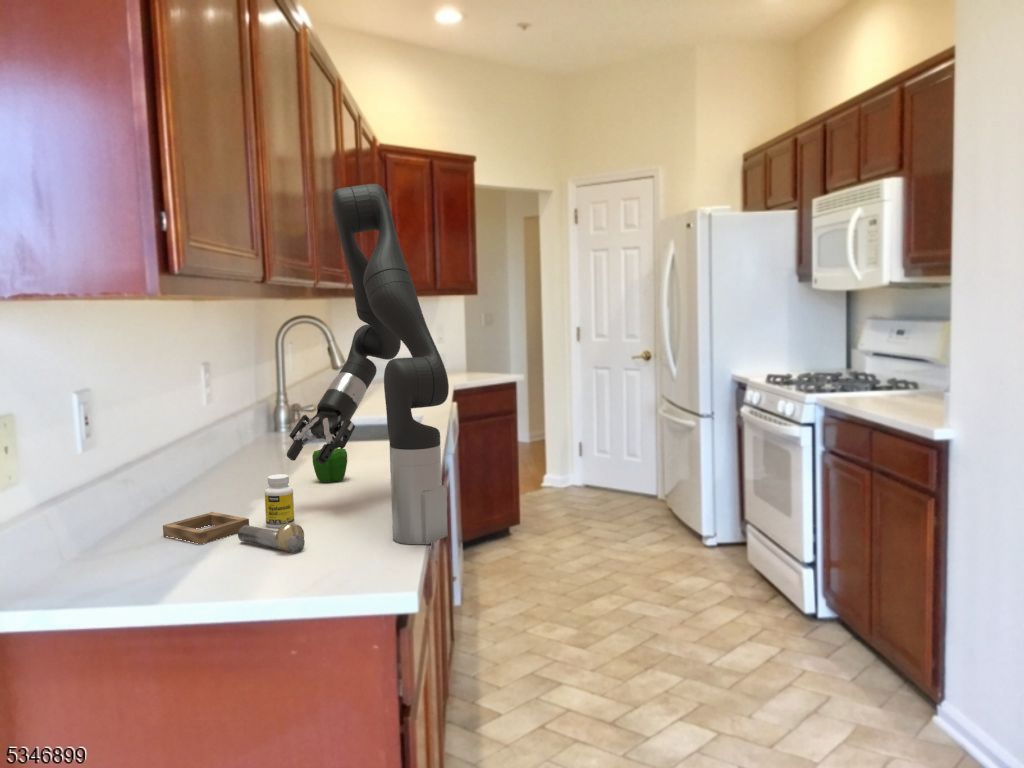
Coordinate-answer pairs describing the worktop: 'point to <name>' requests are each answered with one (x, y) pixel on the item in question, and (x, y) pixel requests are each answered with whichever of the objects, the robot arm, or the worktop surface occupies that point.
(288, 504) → the supplement bottle
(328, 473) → the bell pepper
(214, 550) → the worktop surface
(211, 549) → the worktop surface
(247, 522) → the collar block
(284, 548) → the shaft
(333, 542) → the worktop surface
